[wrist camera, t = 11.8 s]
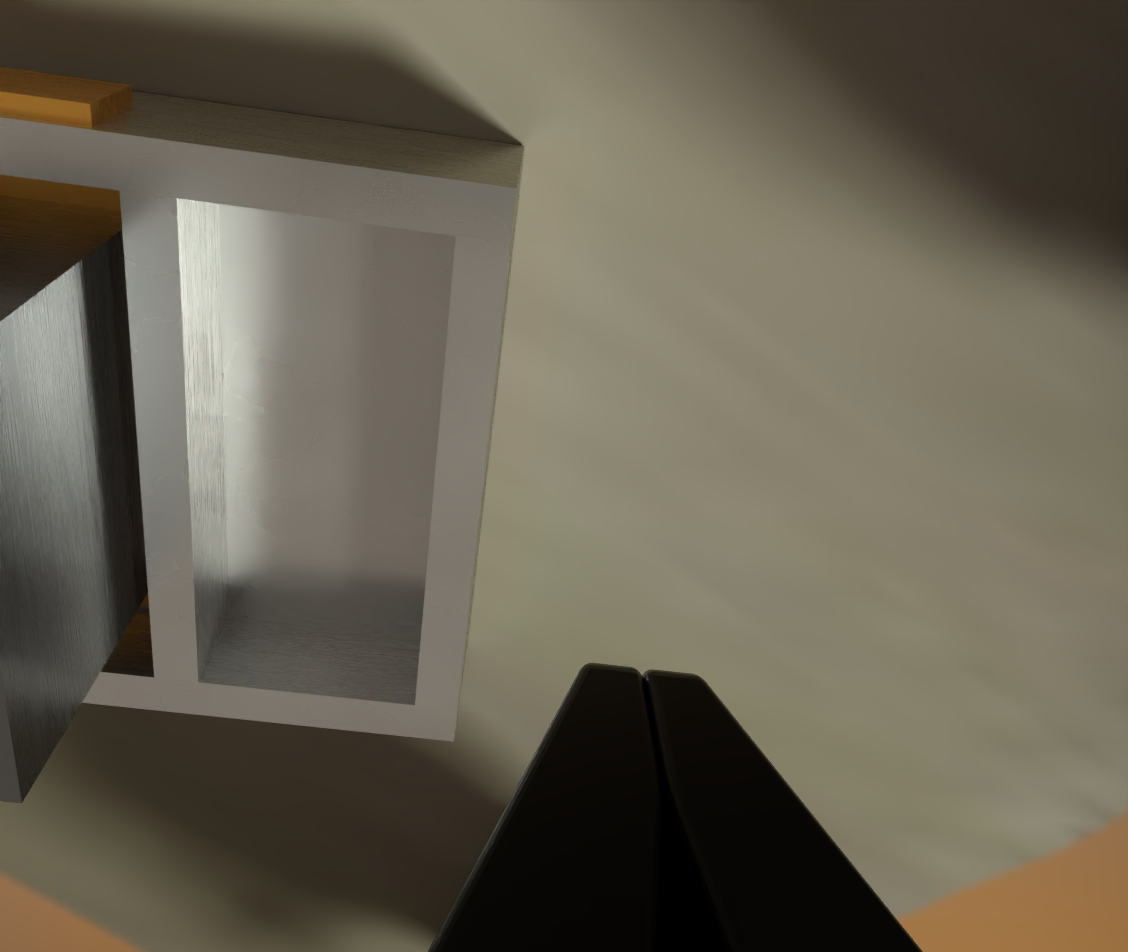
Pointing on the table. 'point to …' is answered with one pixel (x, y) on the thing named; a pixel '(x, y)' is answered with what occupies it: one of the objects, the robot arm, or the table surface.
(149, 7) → the table surface
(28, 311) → the dark grey block
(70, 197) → the rack
